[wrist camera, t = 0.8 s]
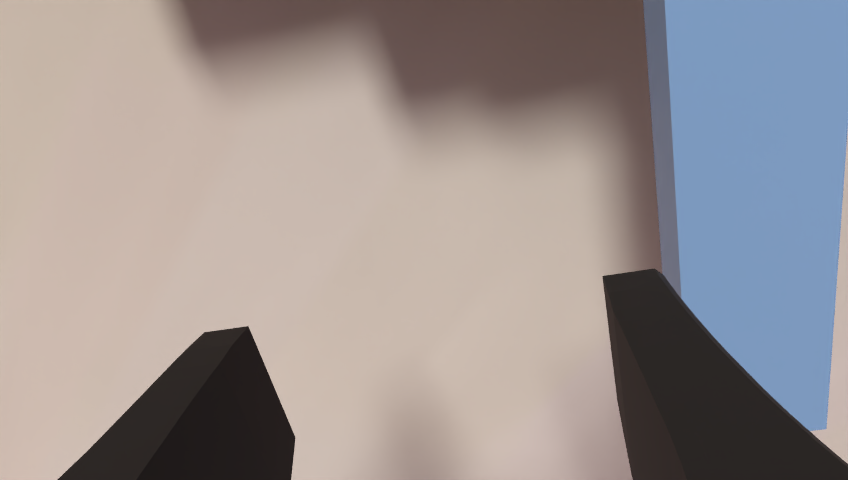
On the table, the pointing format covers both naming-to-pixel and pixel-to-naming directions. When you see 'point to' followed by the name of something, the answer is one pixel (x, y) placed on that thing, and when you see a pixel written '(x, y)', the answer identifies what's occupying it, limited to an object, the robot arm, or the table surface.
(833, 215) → the lever
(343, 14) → the table surface
